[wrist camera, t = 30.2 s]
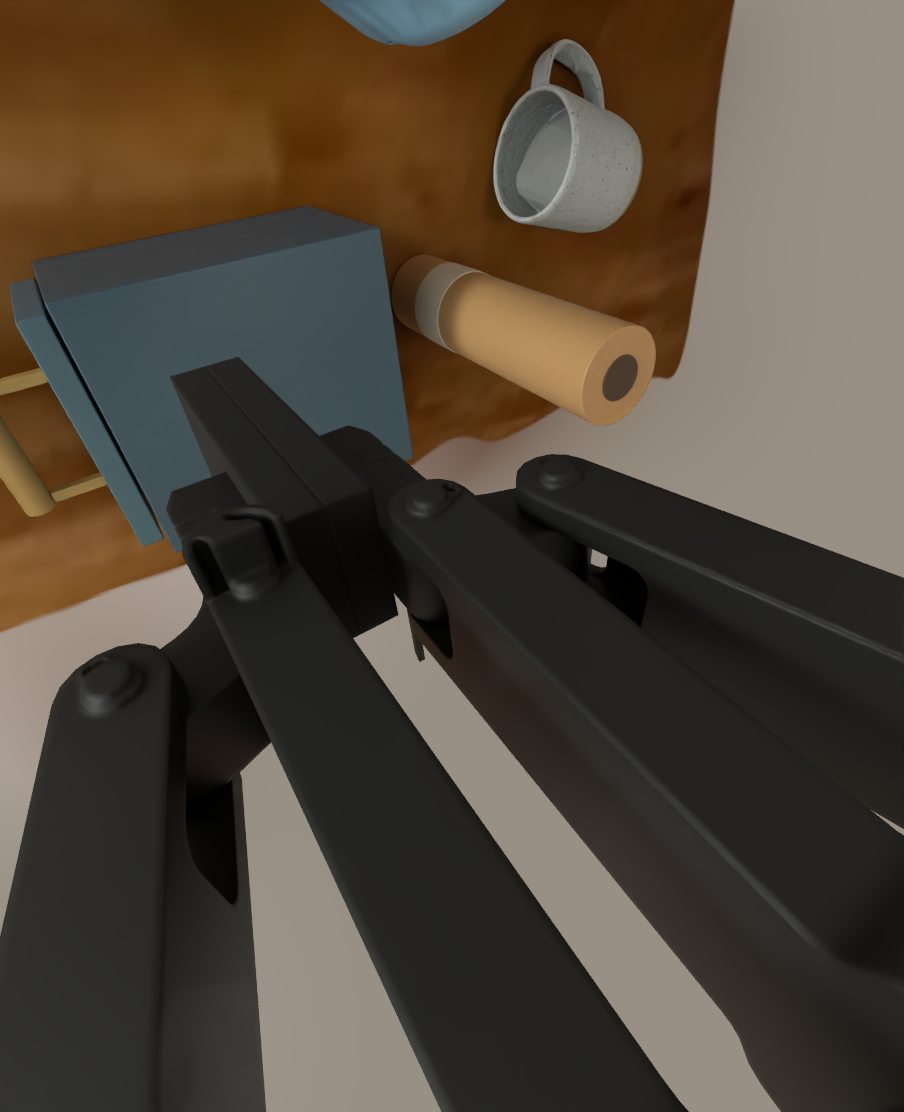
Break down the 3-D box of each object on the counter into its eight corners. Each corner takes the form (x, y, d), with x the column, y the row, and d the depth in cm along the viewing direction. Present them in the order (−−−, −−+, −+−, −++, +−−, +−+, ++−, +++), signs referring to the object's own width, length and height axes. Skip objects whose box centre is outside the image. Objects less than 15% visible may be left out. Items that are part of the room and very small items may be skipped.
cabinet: (143, 480, 39) (175, 553, 32) (30, 261, 30) (44, 303, 23) (351, 407, 44) (413, 457, 38) (308, 205, 35) (380, 227, 29)
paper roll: (376, 298, 41) (566, 391, 28) (422, 236, 40) (638, 300, 27) (421, 344, 45) (606, 445, 32) (463, 288, 44) (669, 367, 31)
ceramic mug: (563, 229, 46) (636, 243, 41) (483, 216, 42) (553, 229, 37) (600, 60, 41) (689, 52, 36) (512, 25, 37) (599, 9, 31)
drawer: (47, 511, 36) (58, 580, 30) (-94, 304, 27) (-111, 351, 22) (325, 414, 43) (372, 457, 37) (278, 226, 34) (331, 247, 29)
